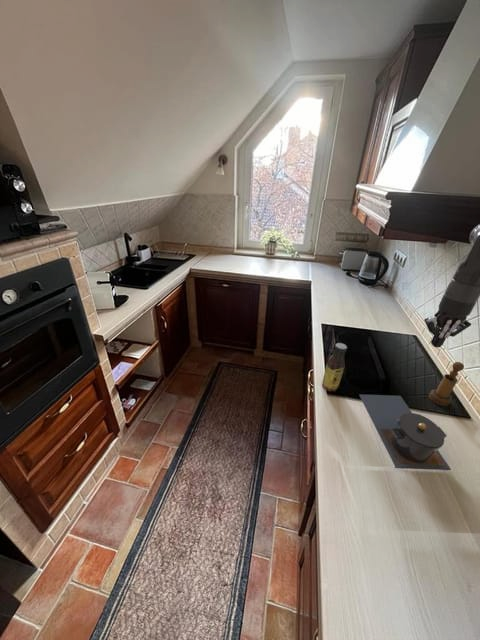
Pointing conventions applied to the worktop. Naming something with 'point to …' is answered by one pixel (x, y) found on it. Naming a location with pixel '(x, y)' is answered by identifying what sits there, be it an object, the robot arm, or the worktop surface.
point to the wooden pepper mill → (446, 386)
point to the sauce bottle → (334, 368)
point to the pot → (417, 437)
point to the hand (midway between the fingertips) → (435, 345)
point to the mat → (385, 418)
